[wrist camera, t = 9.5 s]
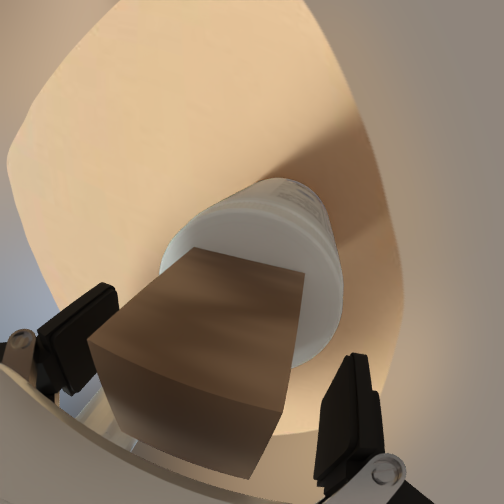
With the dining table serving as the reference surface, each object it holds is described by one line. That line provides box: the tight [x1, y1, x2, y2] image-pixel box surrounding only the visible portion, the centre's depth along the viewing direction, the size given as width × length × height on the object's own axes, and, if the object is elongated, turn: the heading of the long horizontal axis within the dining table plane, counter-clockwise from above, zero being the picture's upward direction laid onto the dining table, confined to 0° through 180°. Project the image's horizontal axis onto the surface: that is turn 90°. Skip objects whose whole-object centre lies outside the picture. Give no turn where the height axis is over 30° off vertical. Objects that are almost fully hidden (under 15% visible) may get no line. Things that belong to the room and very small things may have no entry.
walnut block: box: [87, 247, 305, 480], centre depth 9 cm, size 5×5×7 cm
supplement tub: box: [159, 178, 344, 369], centre depth 19 cm, size 10×10×15 cm
